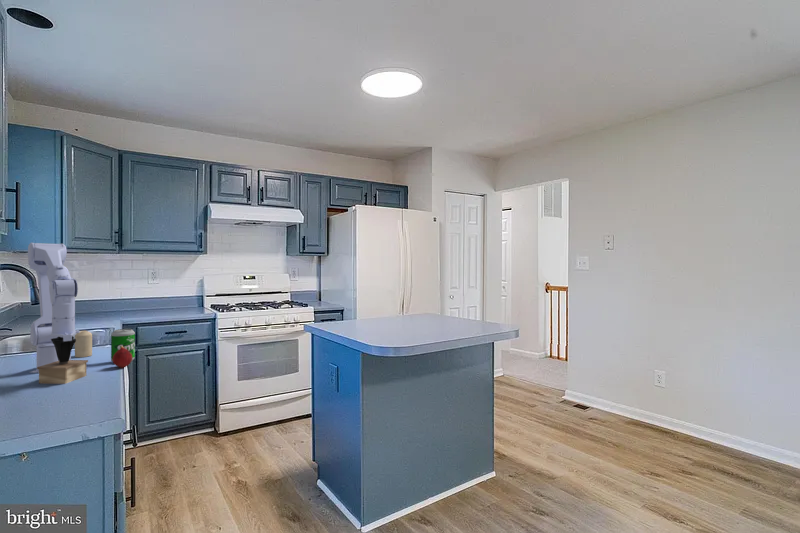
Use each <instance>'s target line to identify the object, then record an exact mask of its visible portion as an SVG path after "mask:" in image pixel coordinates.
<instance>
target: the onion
mask: <svg viewBox="0 0 800 533" xmlns="http://www.w3.org/2000/svg"><path fill="white" fill-rule="evenodd" d="M131 361H132V362H133V360H132V354H131V353H130V352H129V350H127V349H125V348H124V347H123V346H121V348H120V349H119V350H118V351H117V352H116V353H115V354H114V356H113V362H112V363H113V364H114V366H117V367H118V368H120V369H123V368H126V367H127V366H129V365H130V364H131V363H132V362H131Z"/></svg>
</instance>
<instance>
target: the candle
mask: <svg viewBox="0 0 800 533" xmlns="http://www.w3.org/2000/svg"><path fill="white" fill-rule="evenodd" d="M79 331H80V333H75V334H74V339H76V342H75V343H74V357H75V358H87V357H88V356H89V357H92V356H93V333H92V332H90V331H88V330H79ZM89 357H88V358H89Z"/></svg>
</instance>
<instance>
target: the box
mask: <svg viewBox="0 0 800 533" xmlns="http://www.w3.org/2000/svg"><path fill="white" fill-rule="evenodd" d="M84 377H85V378H86V377H87V363H84V364H81V365H78V366H75V367H72V368H69V369H39V373H38V385H39V384H40V385H41V384H44V385H45V384H49V385H50V384H51V385H52V384H53V385H54V384H55V385H56V384H57V385H58V384H59V385H60V384H61V385H63V384H64V385H65V384H69V383H71V382H75V381H76V380H79V379H82V378H84Z"/></svg>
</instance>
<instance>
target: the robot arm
mask: <svg viewBox="0 0 800 533" xmlns="http://www.w3.org/2000/svg"><path fill="white" fill-rule="evenodd" d="M67 252H68V251H67V246H66V245H65V244H64V243H43V242H42V243H41V242H35V243H34V242H30V243H29V244H28V246H27V257H28V258H27V260H28V266H29V269H31V270H33V271H35V273H36V276H37V283H38V284H37V285H38V296H39V297H38V298H39V300H38V301H39V310H40V313H39V314H40V317H39V318H37V319H36V320H33V322H32V323H31V324H30V344H31V345H32V346H35V347H36V369H35V370H32V371H30V373H34V374H35V373H38V374H39V369H37V367H39V366H43V365H46V364H49V363H53V362H56V361H60V362H68V361H69V360H72V359H71V358H72V350H73V346H75V342H76V339H75V335H76V334H77V333H80V331H81V330H80V329H79V330H78V329H77V330H76V313H75V312H76V297H77V296H78V290H79V287H78V281H77V279H76V278H73V277H72V276H71V272H70V271H69V269H68V267H66V266H65V265H64V264H65V262H66V260H67V259H66V258H67V254H68V253H67Z"/></svg>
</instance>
